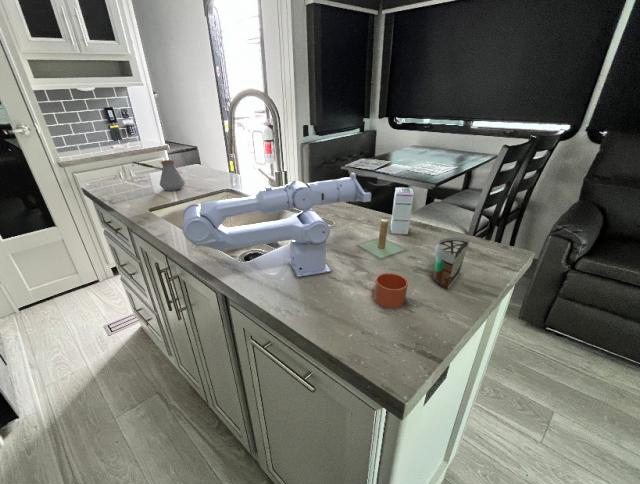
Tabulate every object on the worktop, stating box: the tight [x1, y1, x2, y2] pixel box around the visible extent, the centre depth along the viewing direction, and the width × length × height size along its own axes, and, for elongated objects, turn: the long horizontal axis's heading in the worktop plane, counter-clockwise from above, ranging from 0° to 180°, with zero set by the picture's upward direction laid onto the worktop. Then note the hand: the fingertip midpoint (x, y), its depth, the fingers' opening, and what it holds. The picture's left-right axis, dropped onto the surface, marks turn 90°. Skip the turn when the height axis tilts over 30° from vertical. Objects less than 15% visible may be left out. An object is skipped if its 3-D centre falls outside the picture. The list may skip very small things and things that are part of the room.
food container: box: [433, 236, 470, 290], centre depth 82 cm, size 12×6×10 cm, turn 141°
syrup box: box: [390, 186, 415, 235], centre depth 107 cm, size 6×6×14 cm
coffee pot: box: [131, 159, 186, 192], centre depth 150 cm, size 21×12×15 cm, turn 131°
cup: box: [373, 272, 409, 309], centre depth 76 cm, size 7×7×5 cm
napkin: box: [358, 238, 405, 259], centre depth 100 cm, size 10×10×1 cm
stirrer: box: [378, 218, 390, 249], centre depth 97 cm, size 2×2×9 cm
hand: (383, 185), depth 84 cm, fingers open, 7 cm apart
